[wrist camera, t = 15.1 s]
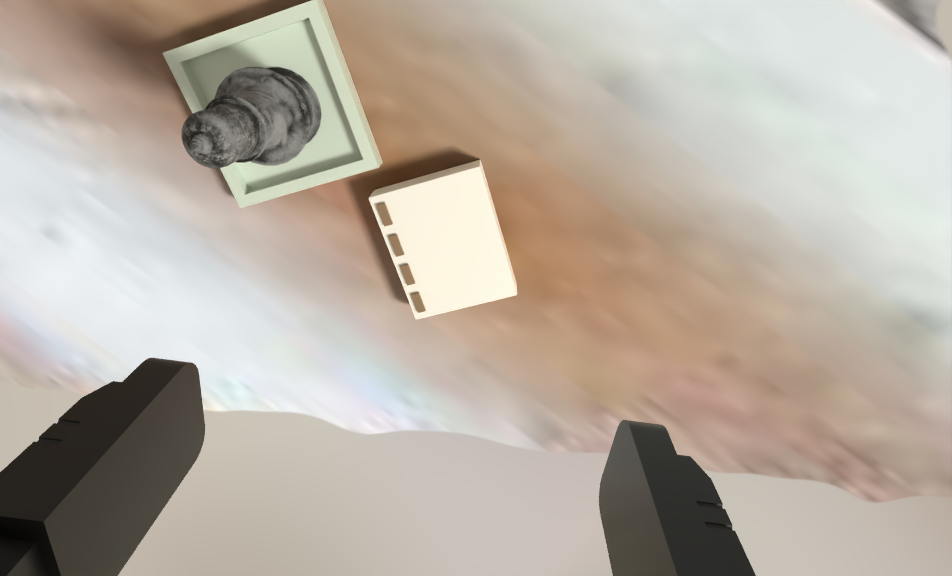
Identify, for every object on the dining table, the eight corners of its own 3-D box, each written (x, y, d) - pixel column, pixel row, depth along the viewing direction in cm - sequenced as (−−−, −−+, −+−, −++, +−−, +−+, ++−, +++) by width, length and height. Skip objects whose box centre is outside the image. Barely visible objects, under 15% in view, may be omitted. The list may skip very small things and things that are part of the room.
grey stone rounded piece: (312, 55, 35) (231, 73, 24) (335, 147, 38) (270, 200, 27) (225, 69, 36) (108, 91, 25) (254, 158, 38) (158, 214, 27)
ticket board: (374, 189, 39) (367, 198, 37) (480, 159, 38) (479, 167, 36) (419, 307, 44) (415, 320, 42) (516, 283, 42) (517, 296, 40)
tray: (174, 51, 36) (162, 52, 34) (322, -1, 34) (315, -2, 33) (248, 201, 40) (240, 208, 39) (382, 162, 39) (378, 167, 37)
